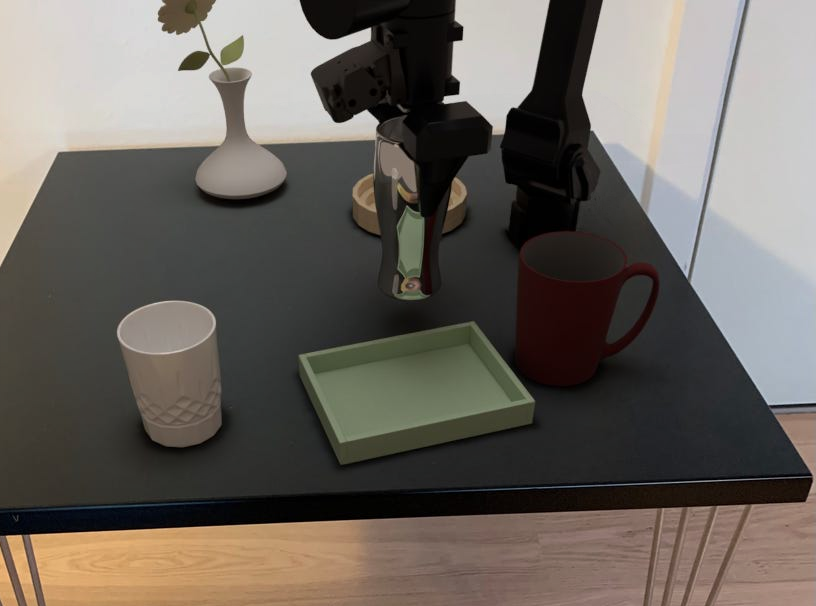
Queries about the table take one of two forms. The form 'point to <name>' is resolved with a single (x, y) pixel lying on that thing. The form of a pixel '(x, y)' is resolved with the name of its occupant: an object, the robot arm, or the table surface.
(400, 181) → the polished metal tumbler
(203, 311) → the white cup
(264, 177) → the flower in vase
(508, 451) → the table surface
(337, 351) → the tray
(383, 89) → the robot arm
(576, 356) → the mug
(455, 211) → the round tan dish
